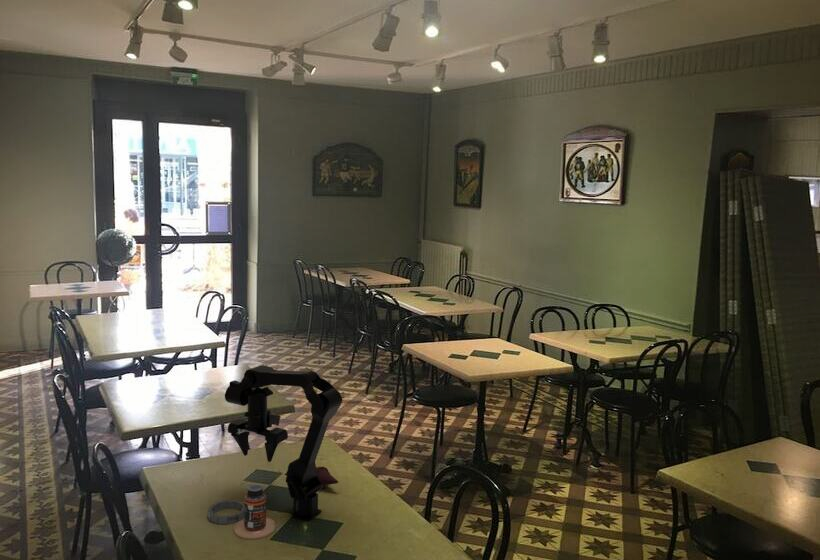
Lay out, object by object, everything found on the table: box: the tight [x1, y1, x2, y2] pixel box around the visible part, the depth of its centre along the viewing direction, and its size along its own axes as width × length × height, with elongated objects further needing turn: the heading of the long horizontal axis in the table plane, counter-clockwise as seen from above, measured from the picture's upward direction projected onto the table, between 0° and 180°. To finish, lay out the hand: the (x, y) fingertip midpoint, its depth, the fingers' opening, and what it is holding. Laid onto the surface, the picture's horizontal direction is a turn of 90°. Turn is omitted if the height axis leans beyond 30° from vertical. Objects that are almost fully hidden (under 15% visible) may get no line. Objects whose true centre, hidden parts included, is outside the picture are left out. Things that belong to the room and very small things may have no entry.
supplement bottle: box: [243, 484, 268, 531], centre depth 181 cm, size 6×6×11 cm
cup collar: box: [207, 499, 244, 525], centre depth 189 cm, size 10×10×2 cm
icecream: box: [316, 466, 339, 489], centre depth 208 cm, size 7×7×15 cm
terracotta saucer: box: [233, 517, 276, 540], centre depth 182 cm, size 11×11×1 cm
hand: (257, 458), depth 198 cm, fingers open, 9 cm apart
